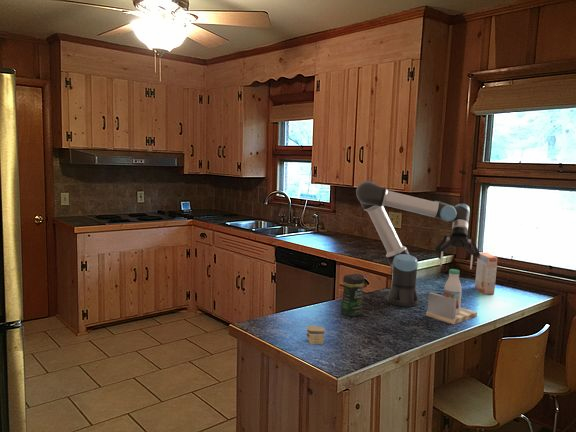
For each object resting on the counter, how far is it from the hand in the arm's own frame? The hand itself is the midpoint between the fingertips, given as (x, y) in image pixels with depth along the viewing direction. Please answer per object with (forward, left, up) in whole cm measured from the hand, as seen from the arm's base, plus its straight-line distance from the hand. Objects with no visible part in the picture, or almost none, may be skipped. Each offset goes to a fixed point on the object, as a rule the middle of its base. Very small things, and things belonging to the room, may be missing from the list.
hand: (455, 266), depth 223 cm
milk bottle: (-4, -8, -20) cm, 22 cm away
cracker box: (+35, +37, -22) cm, 55 cm away
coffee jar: (-50, -8, -22) cm, 56 cm away
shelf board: (-3, -8, -22) cm, 24 cm away
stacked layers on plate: (-71, -41, -23) cm, 86 cm away
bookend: (-11, -13, -20) cm, 26 cm away
